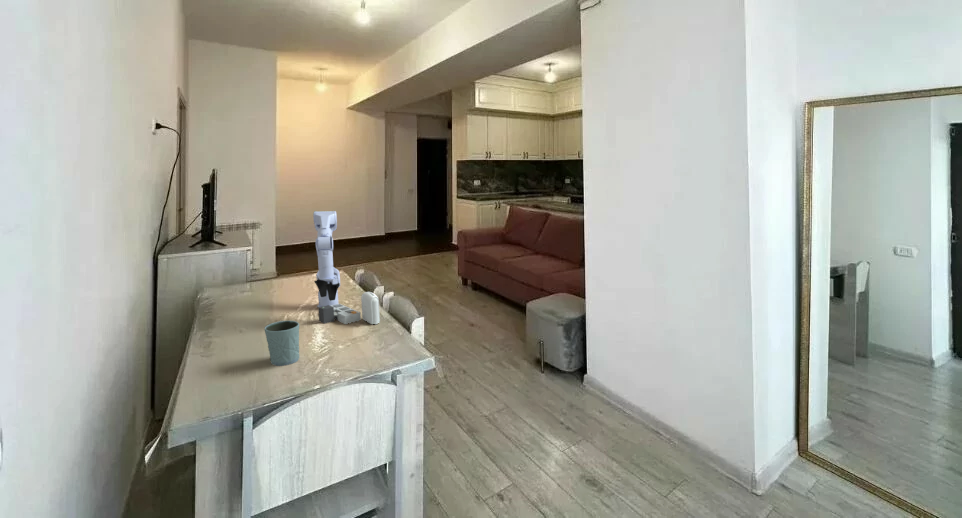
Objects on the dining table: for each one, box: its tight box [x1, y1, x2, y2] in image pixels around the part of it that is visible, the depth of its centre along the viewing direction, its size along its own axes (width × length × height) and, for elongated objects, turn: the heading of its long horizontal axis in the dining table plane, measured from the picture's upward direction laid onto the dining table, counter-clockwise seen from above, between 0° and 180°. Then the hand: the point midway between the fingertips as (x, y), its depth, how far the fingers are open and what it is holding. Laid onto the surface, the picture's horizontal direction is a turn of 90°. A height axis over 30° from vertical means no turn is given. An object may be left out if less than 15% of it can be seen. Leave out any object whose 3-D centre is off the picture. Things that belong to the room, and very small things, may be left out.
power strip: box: [331, 303, 362, 325], centre depth 186 cm, size 18×7×4 cm, turn 45°
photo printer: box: [360, 291, 381, 325], centre depth 181 cm, size 10×4×12 cm, turn 40°
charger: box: [317, 305, 337, 325], centre depth 182 cm, size 4×7×6 cm, turn 135°
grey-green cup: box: [264, 320, 300, 367], centre depth 142 cm, size 10×10×12 cm
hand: (327, 298), depth 181 cm, fingers open, 7 cm apart
